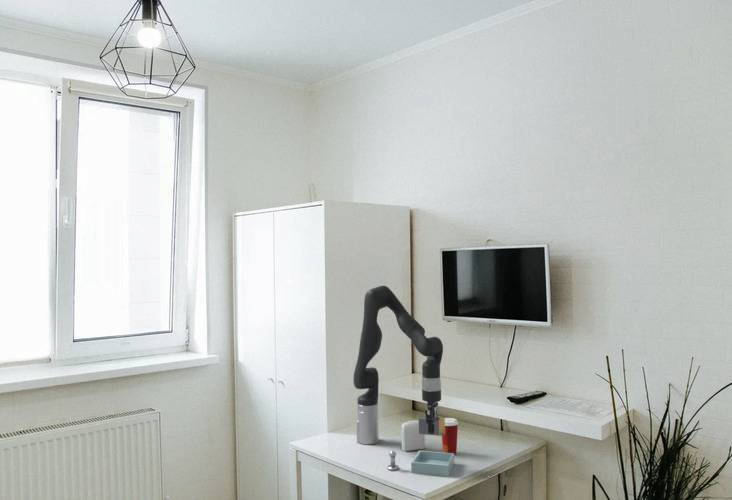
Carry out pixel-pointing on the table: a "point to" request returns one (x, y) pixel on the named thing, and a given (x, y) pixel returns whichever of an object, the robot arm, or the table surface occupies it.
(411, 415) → the table surface
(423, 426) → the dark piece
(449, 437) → the paper cup
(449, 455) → the bin
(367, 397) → the robot arm
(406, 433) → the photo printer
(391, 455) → the stud post
